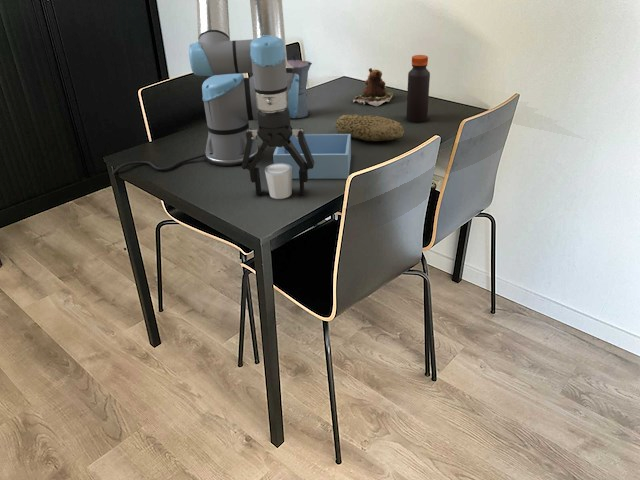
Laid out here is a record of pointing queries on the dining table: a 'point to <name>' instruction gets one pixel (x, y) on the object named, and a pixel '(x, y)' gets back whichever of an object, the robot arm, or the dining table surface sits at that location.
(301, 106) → the moka pot
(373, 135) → the sponge
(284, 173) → the shot glass
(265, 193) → the dining table surface
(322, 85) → the dining table surface
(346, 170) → the open storage box
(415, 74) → the bottle
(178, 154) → the dining table surface
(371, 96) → the bear figurine
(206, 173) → the dining table surface
